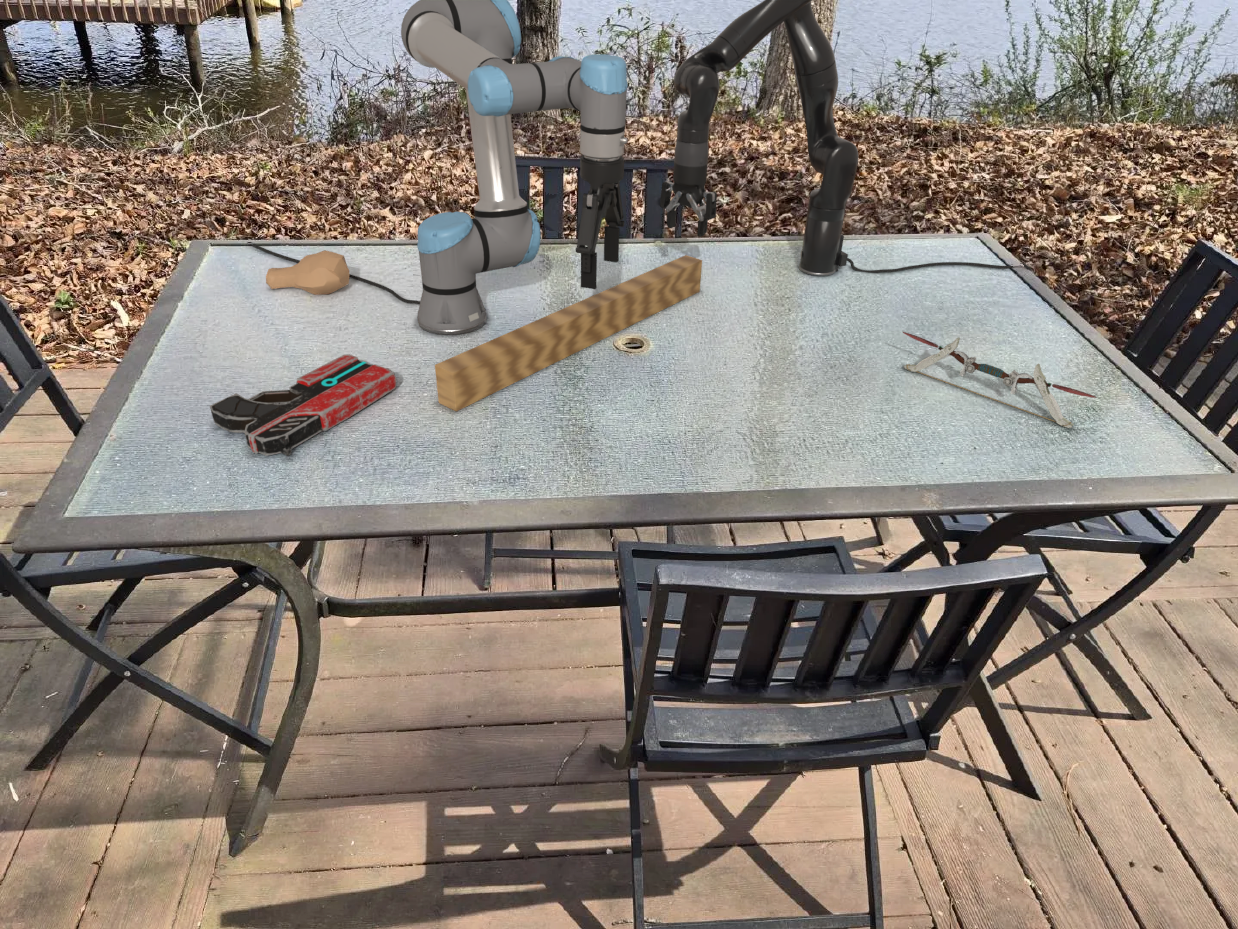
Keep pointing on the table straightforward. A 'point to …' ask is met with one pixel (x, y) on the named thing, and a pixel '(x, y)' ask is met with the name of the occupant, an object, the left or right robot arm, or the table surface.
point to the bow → (1009, 379)
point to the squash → (312, 274)
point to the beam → (563, 333)
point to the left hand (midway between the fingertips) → (600, 273)
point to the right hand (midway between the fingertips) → (686, 231)
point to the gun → (304, 405)
